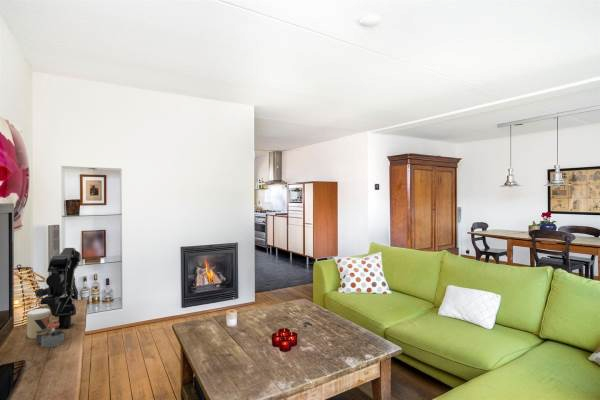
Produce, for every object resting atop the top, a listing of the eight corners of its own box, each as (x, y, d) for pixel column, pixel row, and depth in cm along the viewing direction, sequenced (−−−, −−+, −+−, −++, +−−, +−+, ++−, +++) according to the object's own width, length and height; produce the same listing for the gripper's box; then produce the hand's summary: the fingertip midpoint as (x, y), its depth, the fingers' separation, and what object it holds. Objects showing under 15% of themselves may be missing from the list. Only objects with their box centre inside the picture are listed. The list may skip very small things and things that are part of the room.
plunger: (50, 332, 156) (50, 321, 156) (60, 332, 157) (61, 321, 157) (44, 336, 152) (45, 325, 152) (55, 336, 152) (56, 324, 152)
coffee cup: (35, 340, 157) (37, 315, 157) (20, 337, 159) (21, 313, 159) (53, 332, 166) (55, 309, 166) (39, 330, 168) (40, 307, 168)
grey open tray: (41, 340, 157) (42, 331, 157) (66, 339, 159) (67, 330, 159) (31, 348, 149) (31, 338, 149) (57, 347, 151) (58, 337, 151)
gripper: (51, 277, 167) (49, 307, 167) (28, 286, 149) (26, 320, 148) (75, 277, 169) (73, 307, 169) (55, 286, 151) (53, 320, 150)
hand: (57, 313), depth 159 cm, fingers open, 5 cm apart
